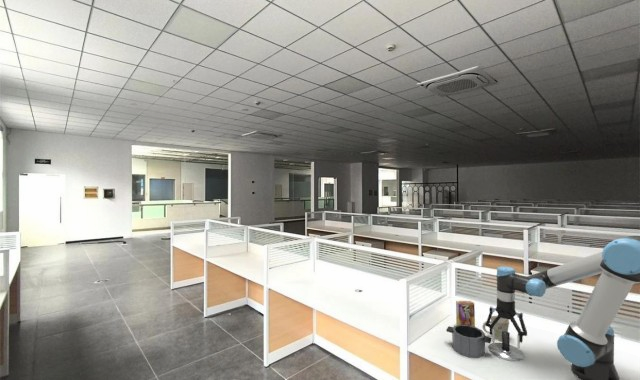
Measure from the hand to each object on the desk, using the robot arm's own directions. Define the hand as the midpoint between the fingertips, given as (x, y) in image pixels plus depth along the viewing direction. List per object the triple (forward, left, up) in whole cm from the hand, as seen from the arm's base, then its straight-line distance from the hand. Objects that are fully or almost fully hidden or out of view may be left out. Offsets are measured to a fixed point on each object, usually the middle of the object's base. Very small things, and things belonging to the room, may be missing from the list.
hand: (505, 344), depth 145 cm
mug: (+6, -13, -4) cm, 15 cm away
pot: (+15, +8, -4) cm, 17 cm away
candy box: (+21, -14, -4) cm, 26 cm away
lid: (0, 0, -4) cm, 4 cm away
